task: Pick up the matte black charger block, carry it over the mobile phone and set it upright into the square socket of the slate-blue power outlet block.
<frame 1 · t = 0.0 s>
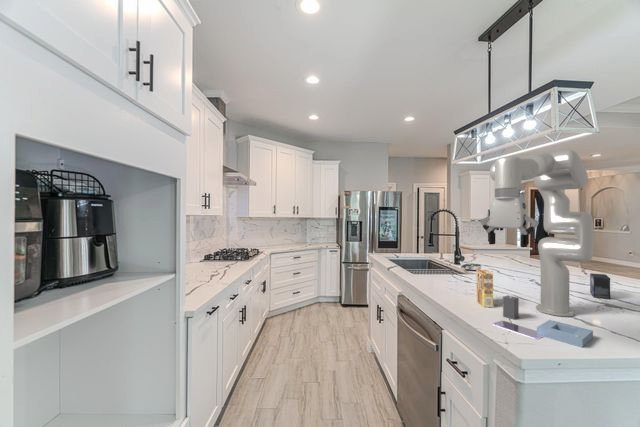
hand: (507, 245, 97), 31 cm above the counter, tool pointing down, fingers open, 9 cm apart
candy box: (484, 304, 133), on the counter
small box: (599, 296, 147), on the counter
mobile phone: (517, 331, 105), on the counter
charger: (510, 317, 117), on the counter
power outlet block: (564, 336, 99), on the counter
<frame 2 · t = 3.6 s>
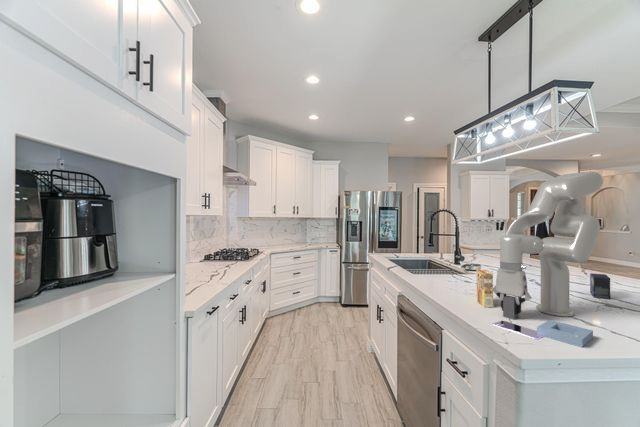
hand: (510, 311, 117), 2 cm above the counter, tool pointing down, fingers closed on charger, 4 cm apart
charger: (510, 317, 117), on the counter, touching gripper
everything else where it was.
when the fingers open (3 cm above the counter, at t = 9.6 s): charger stays where it is, resting in power outlet block.
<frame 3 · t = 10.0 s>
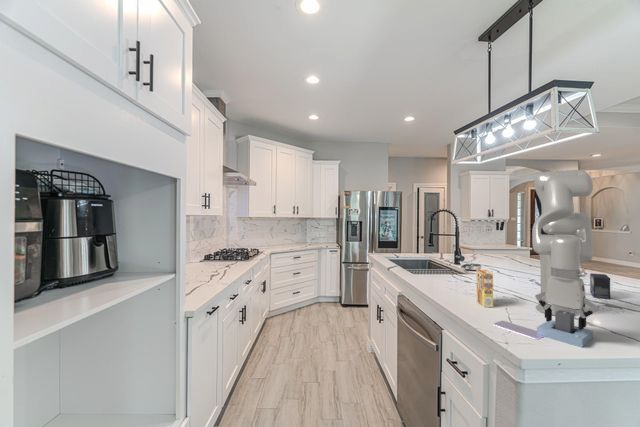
hand: (564, 324, 99), 4 cm above the counter, tool pointing down, fingers open, 8 cm apart
charger: (564, 336, 99), resting in power outlet block
everything else where it was.
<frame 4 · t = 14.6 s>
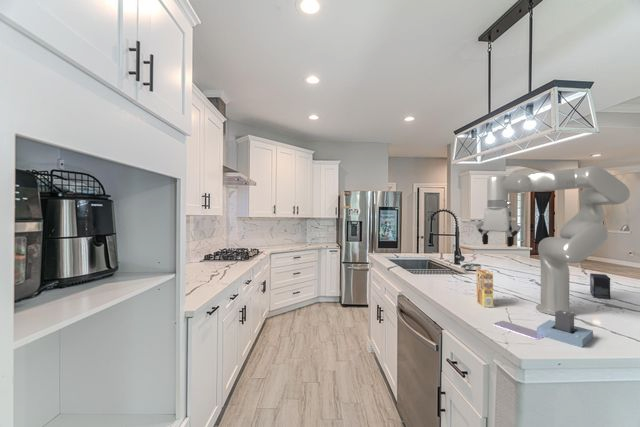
hand: (497, 245, 123), 28 cm above the counter, tool pointing down, fingers open, 9 cm apart
nothing on the counter moved.
at the end: charger 0.0 cm off-centre on the power outlet block, point 0.0 cm above the power outlet block's base; charger tilted 0°; the gripper is holding nothing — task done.
